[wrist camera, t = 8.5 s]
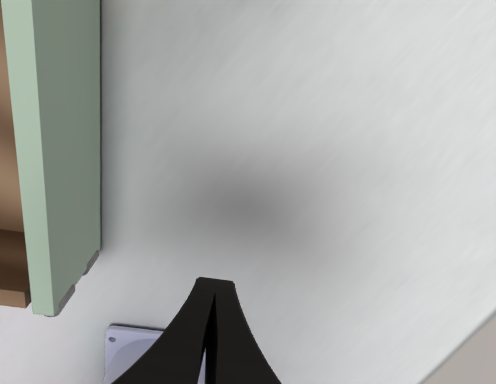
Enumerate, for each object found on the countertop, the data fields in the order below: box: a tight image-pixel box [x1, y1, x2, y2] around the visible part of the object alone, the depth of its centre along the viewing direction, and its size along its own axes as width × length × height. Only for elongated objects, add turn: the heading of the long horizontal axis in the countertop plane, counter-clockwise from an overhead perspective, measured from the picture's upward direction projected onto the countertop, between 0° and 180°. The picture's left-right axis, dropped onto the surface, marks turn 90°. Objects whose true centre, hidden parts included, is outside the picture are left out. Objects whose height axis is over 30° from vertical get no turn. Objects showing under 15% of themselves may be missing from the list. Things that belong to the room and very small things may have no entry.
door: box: [1, 0, 100, 317], centre depth 17 cm, size 16×1×6 cm, turn 170°
